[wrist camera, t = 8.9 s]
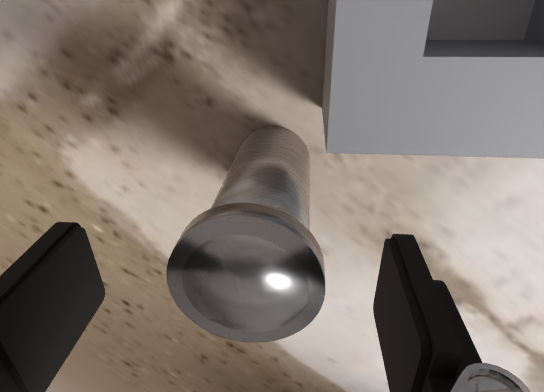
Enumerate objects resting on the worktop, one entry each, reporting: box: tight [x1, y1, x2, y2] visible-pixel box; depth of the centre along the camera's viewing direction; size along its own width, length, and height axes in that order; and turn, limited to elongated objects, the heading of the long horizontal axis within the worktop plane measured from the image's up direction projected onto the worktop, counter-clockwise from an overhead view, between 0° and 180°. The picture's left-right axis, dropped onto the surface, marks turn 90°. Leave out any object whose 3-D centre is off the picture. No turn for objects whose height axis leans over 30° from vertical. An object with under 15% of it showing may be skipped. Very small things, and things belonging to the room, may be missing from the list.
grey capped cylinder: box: [167, 126, 325, 342], centre depth 16 cm, size 5×5×10 cm
